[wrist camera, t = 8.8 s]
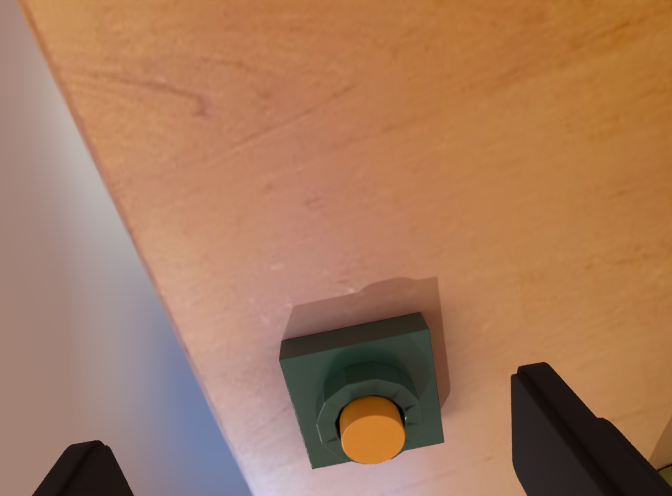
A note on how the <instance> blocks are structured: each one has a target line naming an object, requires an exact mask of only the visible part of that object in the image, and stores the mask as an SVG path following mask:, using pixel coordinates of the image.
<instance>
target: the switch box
mask: <svg viewBox="0 0 672 496" xmlns="http://www.w3.org/2000/svg"><path fill="white" fill-rule="evenodd" d="M279 362H280V365H281V368H282V372H283V375H284V378H285V381H286V385H287V388H288V391H289V394H290V398H291V401H292V404H293V408H294V411H295V414H296V417H297V421H298V424H299V427H300V431H301V434H302V437H303V440H304V444H305V447H306V450H307V453H308V457H309V460H310V463H311V467H312V469H316V468H321V467H326V466H331V465H336V464H341V463H346V462H351V461H352V462H356V461H354V460H352V459H351V458H350V457H348V456H347V454H346V453H345V452H344V450H343V448H342V444H341V433H340V416H341V413H342V412H343V410H344V408H345V407H346V406H347V405H348V404H349V403H350V402H352V401H354V400H356V399H358V398H360V397H365V396H380V397H384V398H386V399H388V400H390V401H391V402H392V403H394V405H395V406H396V407H397V409H398V411H399V414H400V417H401V421H402V424H403V428H404V432H405V442H404V445H403V447H402V449H401V450H400V452H399V453H398V454H397V455H399V454H400V453H402V452H403V451H405V450H410V449H415V448H420V447H425V446H430V445H435V444H440V443H444V436H443V428H442V421H441V414H440V406H439V399H438V391H437V384H436V376H435V369H434V361H433V354H432V346H431V339H430V332H429V328H428V326H427V324H426V322H425V320H424V318H423V316H422V314H421V313H415V314H410V315H405V316H401V317H396V318H391V319H386V320H381V321H376V322H371V323H367V324H362V325H357V326H352V327H347V328H342V329H338V330H333V331H328V332H323V333H318V334H313V335H309V336H304V337H299V338H294V339H289V340H284V341H281V348H280V357H279ZM397 455H396V456H397ZM396 456H394V457H396ZM394 457H393V458H394ZM393 458H391V459H393ZM357 463H359V462H357ZM362 464H363V463H362Z"/></svg>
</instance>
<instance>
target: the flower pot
mask: <svg viewBox="0 0 672 496" xmlns="http://www.w3.org/2000/svg"><path fill="white" fill-rule="evenodd" d="M658 473H659V474H660V475H661V476H662V477H663V478H664V479H665V480H666V481H667V483H668V484H669V485H670V486H671V487H672V466H670V467H667V468H664V469H662V470H660V471H658Z"/></svg>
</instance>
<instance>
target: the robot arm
mask: <svg viewBox="0 0 672 496" xmlns="http://www.w3.org/2000/svg"><path fill="white" fill-rule="evenodd" d="M511 414H512V461H513V466H514V470H515V472H516V475H517V477H518V479H519V481H520V483H521V485H522V487H523V489H524V490H525V492H526V494H527V496H672V487H671V486H670V485H669V484H668V483H667V481H666V480H665V479H664V478H663V477H662V476H661V475H660V474H659V473H658V472H657V471H656V470H655V469H654V468H653V466H652V465H651V464H650V463H649V462H648V461H647V460H646V459H645V458H644V457H643V456H642V455H641V454H640V453H639V451H638V450H637V449H636V448H635V447H634V446H633V445H632V444H631V443H630V442H629V441H628V440H627V439H626V438H625V436H624V435H623V434H622V433H621V432H620V431H619V430H618V429H617V428H616V427H615V426H614V425H613V424H612V423H611V422H610V421H608V420H606V419H604V418H597V417H596V416H595V415H594V414H593V413H592V412H591V411H590V409H589V408H588V407H587V406H586V405H585V404H584V403H583V402H582V401H581V399H580V398H579V397H578V396H577V395H576V394H575V393H574V392H573V391H572V389H571V388H570V387H569V386H568V385H567V384H566V383H565V382H564V381H563V379H562V378H561V377H560V376H559V375H558V374H557V373H556V372H555V371H554V369H553V368H552V367H551V366H550V365H549V364H548V363H546V362H541V363H535V364H529V365H524V366H519V367H518V370H517V374H512V376H511ZM32 496H134V495H133V493H132V491H131V489H130V487H129V485H128V483H127V481H126V479H125V477H124V475H123V473H122V471H121V469H120V467H119V465H118V463H117V461H116V458H115V457H114V455H113V452H112V450H111V449H110V447H108V446H107V445H106V446H105V445H104V444H103V443H102V442H101V441H99V440H95V441H89V442H83V443H78V444H72V445H70V446H69V447H68V448H67V449H66V450H65V451H64V452H63V454H62V455H61V456H60V458H59V459H58V461H57V462H56V463H55V465H54V466H53V467H52V469H51V470H50V472H49V473H48V474H47V476H46V477H45V478H44V480H43V481H42V483H41V484H40V485H39V487H38V488H37V490H36V491H35V492H34V494H33V495H32Z"/></svg>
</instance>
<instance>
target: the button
mask: <svg viewBox="0 0 672 496" xmlns="http://www.w3.org/2000/svg"><path fill="white" fill-rule="evenodd" d="M340 433H341V444H342V448H343V450H344V452H345V453H346V454H347V456H348V457H350V458H351V459H352V460H354V461H356V462H359V463H363V464H378V463H382V462H385V461H387V460H390V459H391V458H393V457H394V456H396V455H397V454H398V453H399V452H400V450H401V449H402V447H403V445H404V442H405V432H404V428H403V424H402V421H401V417H400V414H399V411H398V409H397V407H396V406H395V405H394V403H392V402H391V401H390V400H388V399H386V398H384V397H380V396H365V397H360V398H358V399H356V400H354V401H352V402H350V403H349V404H348V405H347V406H346V407H345V408H344V410H343V412H342V413H341V416H340Z"/></svg>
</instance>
